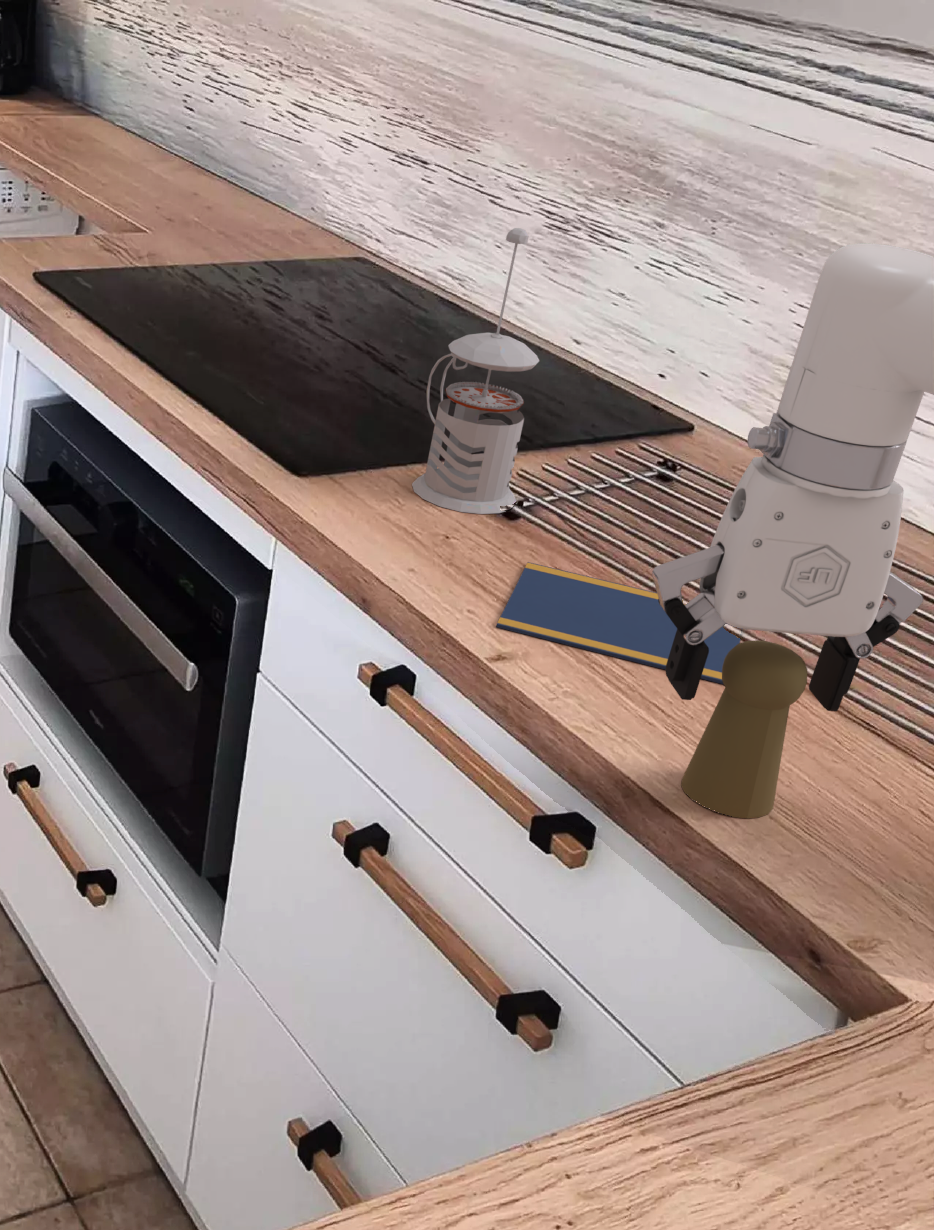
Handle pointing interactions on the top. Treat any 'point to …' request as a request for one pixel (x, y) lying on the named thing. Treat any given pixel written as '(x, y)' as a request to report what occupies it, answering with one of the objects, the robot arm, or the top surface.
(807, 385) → the robot arm
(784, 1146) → the top surface
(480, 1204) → the top surface
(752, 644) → the cork
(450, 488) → the french press
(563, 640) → the cloth
